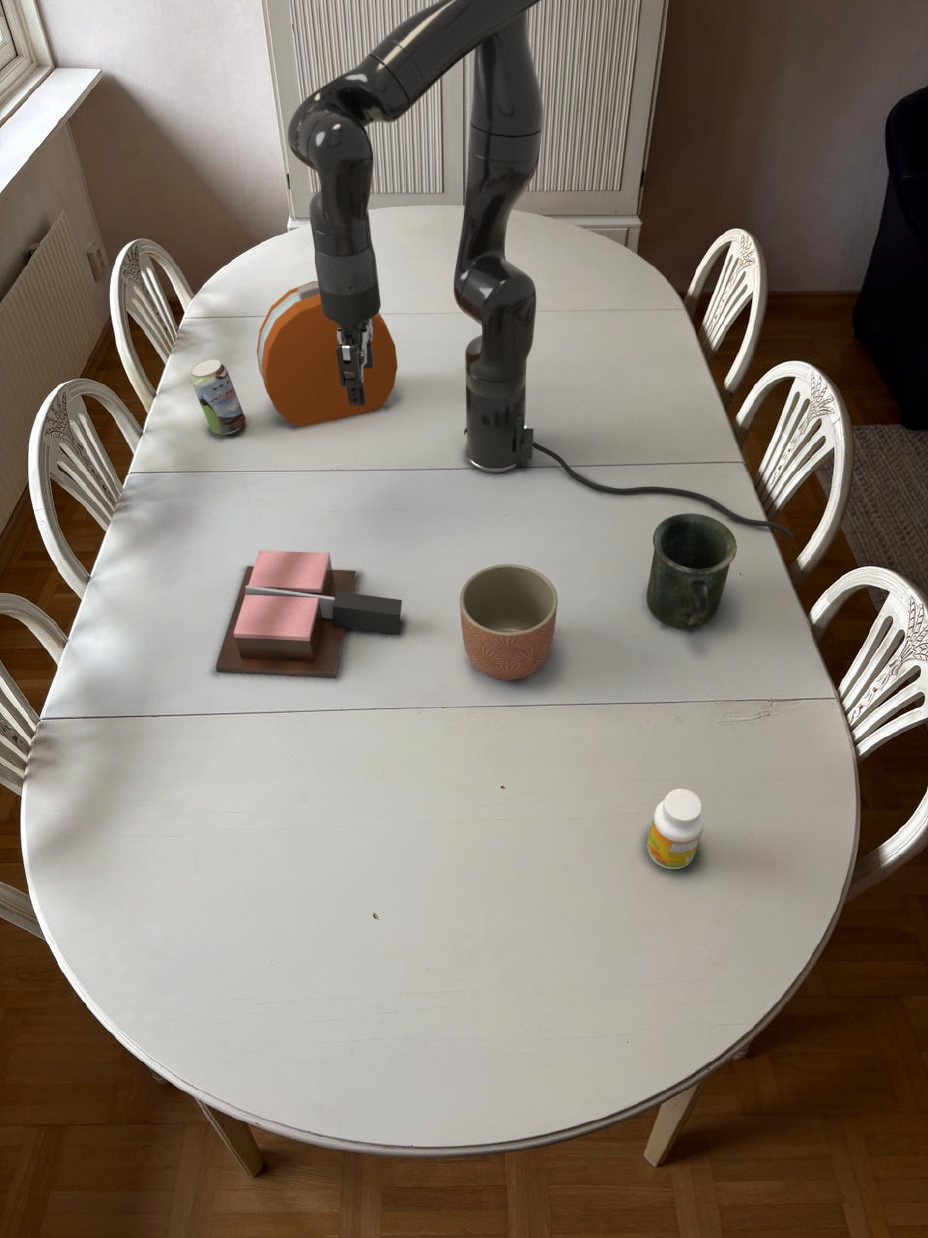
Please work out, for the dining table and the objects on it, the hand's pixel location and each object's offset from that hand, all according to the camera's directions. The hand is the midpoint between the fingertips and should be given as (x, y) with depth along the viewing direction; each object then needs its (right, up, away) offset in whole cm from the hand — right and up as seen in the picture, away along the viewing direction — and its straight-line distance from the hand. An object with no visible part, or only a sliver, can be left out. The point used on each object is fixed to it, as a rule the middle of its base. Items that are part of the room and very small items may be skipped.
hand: (361, 384), depth 137 cm
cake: (-10, -32, +2) cm, 34 cm away
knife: (-5, -32, +1) cm, 32 cm away
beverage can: (-26, 0, +32) cm, 42 cm away
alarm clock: (-9, +5, +36) cm, 38 cm away
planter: (+20, -37, -2) cm, 42 cm away
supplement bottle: (+38, -59, -22) cm, 73 cm away
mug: (+44, -31, +2) cm, 54 cm away
